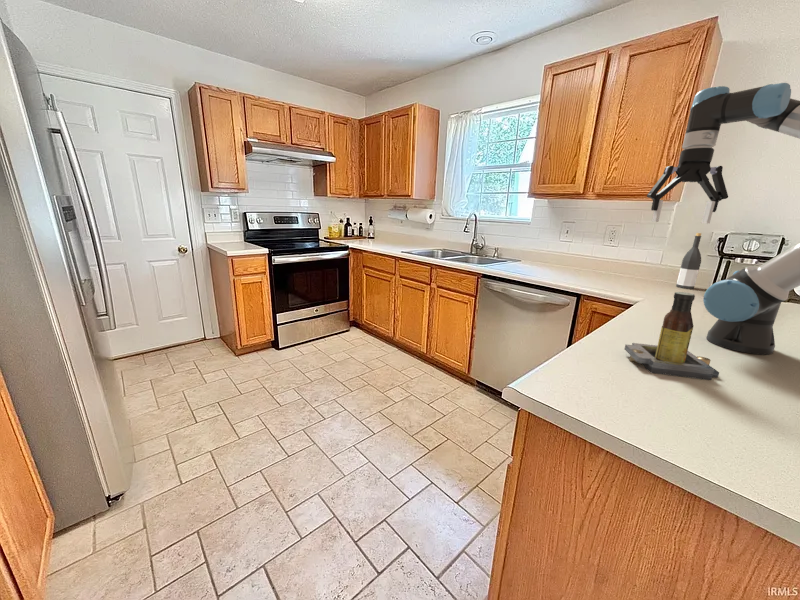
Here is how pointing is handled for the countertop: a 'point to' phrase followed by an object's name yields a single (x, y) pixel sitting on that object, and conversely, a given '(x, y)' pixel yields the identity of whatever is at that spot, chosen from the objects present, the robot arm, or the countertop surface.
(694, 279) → the wine bottle
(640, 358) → the upper chain end link
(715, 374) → the lower chain end link
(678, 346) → the sauce bottle
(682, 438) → the countertop surface
